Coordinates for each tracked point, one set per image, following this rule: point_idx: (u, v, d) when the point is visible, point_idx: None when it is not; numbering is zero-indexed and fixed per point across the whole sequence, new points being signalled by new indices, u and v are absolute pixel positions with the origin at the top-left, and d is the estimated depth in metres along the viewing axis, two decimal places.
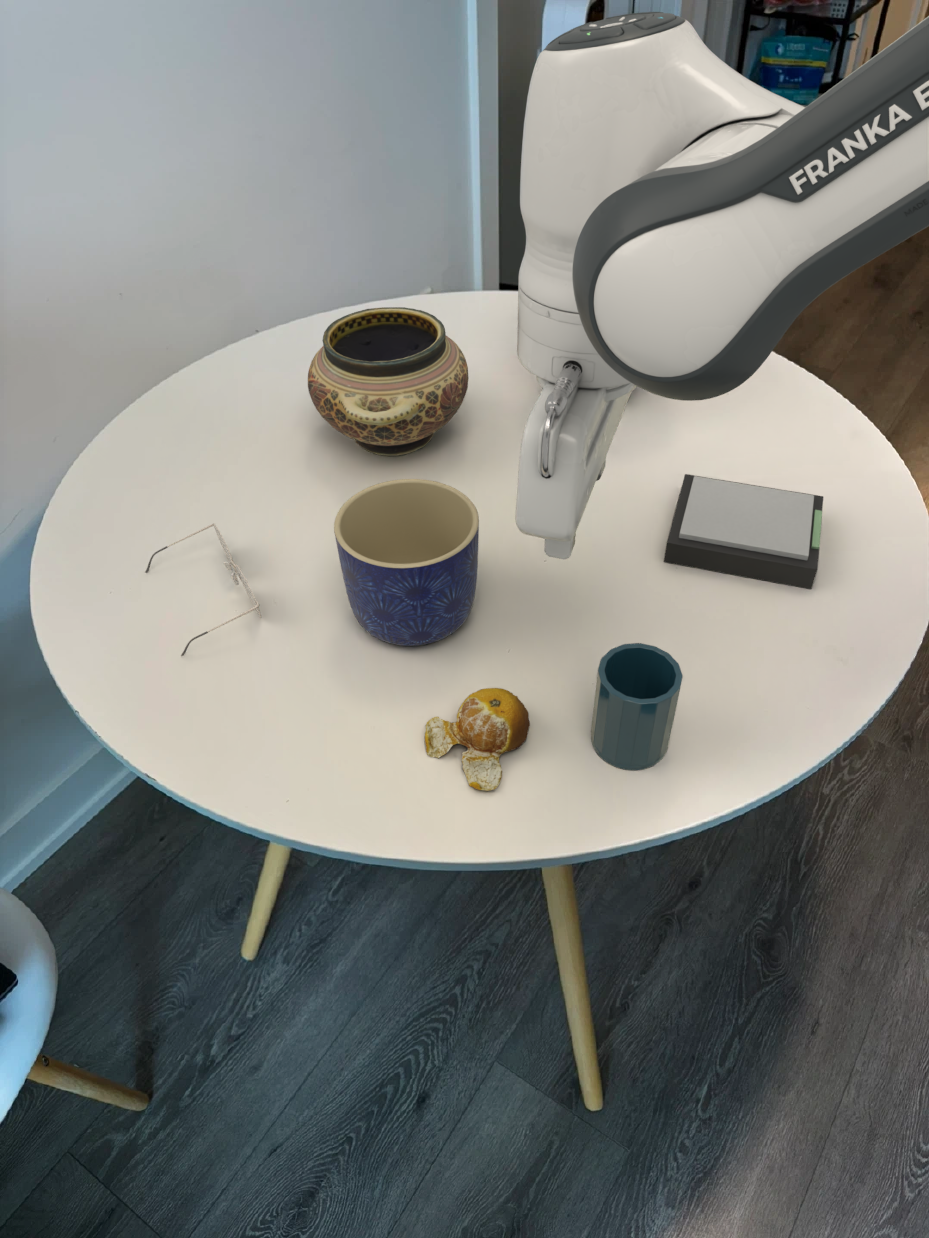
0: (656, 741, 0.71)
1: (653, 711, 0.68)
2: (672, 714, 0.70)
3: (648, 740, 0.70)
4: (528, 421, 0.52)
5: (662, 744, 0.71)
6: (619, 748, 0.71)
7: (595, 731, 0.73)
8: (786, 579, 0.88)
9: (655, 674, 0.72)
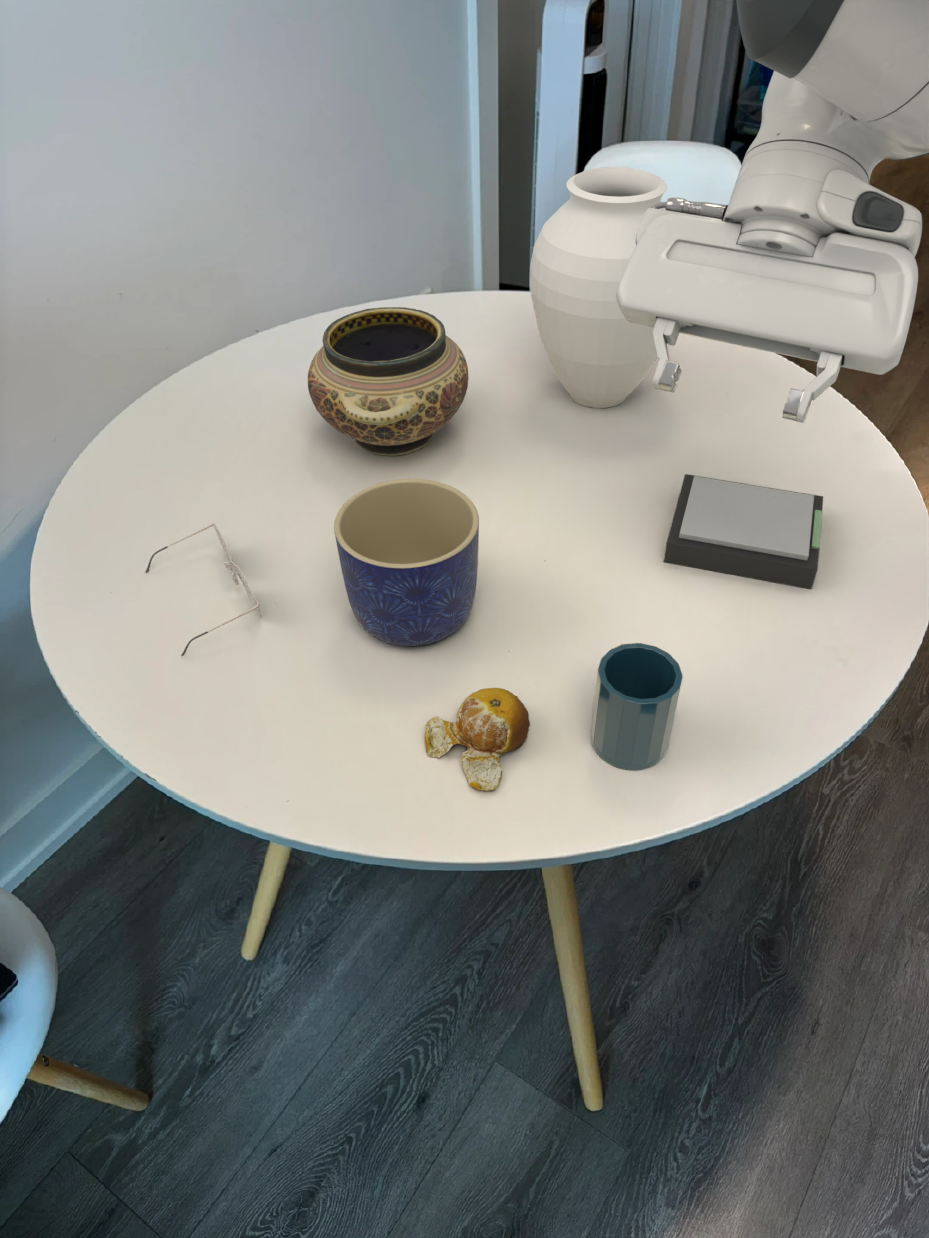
0: (656, 741, 0.71)
1: (653, 711, 0.68)
2: (672, 714, 0.70)
3: (648, 740, 0.70)
4: None
5: (662, 744, 0.71)
6: (619, 748, 0.71)
7: (595, 731, 0.73)
8: (786, 579, 0.88)
9: (655, 674, 0.72)
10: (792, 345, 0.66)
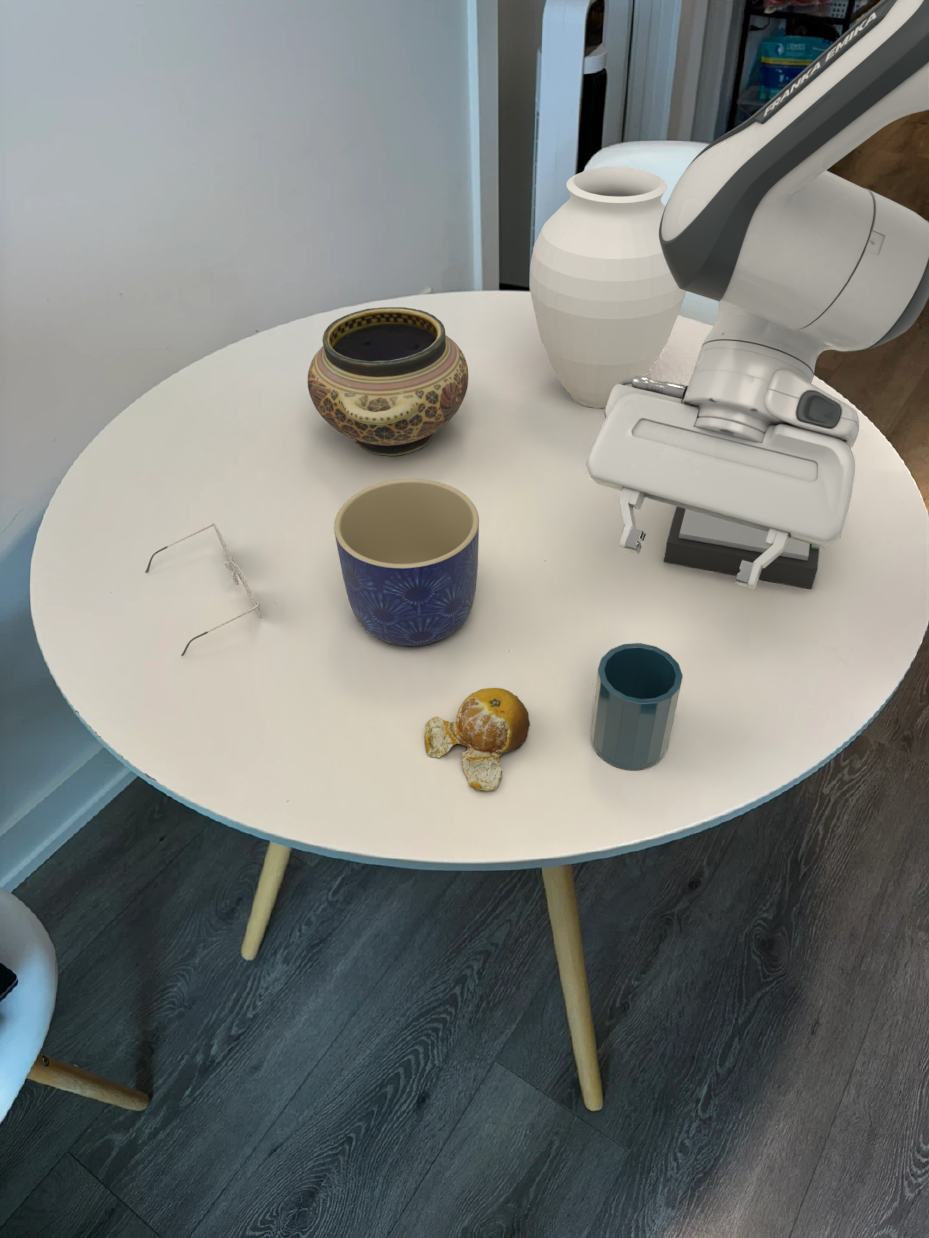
0: (656, 741, 0.71)
1: (653, 711, 0.68)
2: (672, 714, 0.70)
3: (648, 740, 0.70)
4: None
5: (662, 744, 0.71)
6: (619, 748, 0.71)
7: (595, 731, 0.73)
8: (786, 579, 0.88)
9: (655, 674, 0.72)
10: None
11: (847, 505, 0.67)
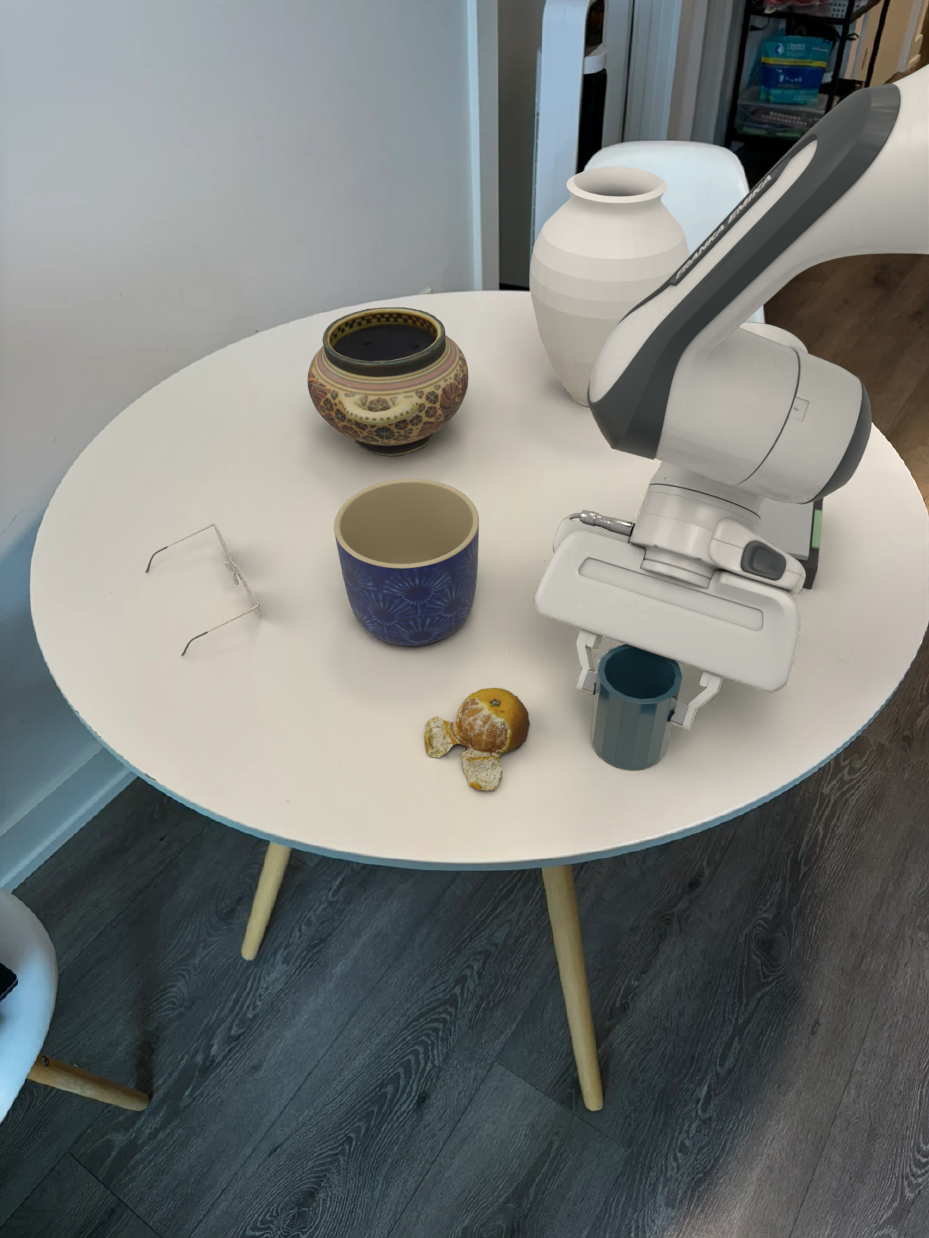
0: (656, 741, 0.71)
1: (653, 711, 0.68)
2: (672, 714, 0.70)
3: (648, 740, 0.70)
4: None
5: (662, 744, 0.71)
6: (619, 748, 0.71)
7: (595, 731, 0.73)
8: None
9: (655, 674, 0.72)
10: None
11: (792, 657, 0.66)
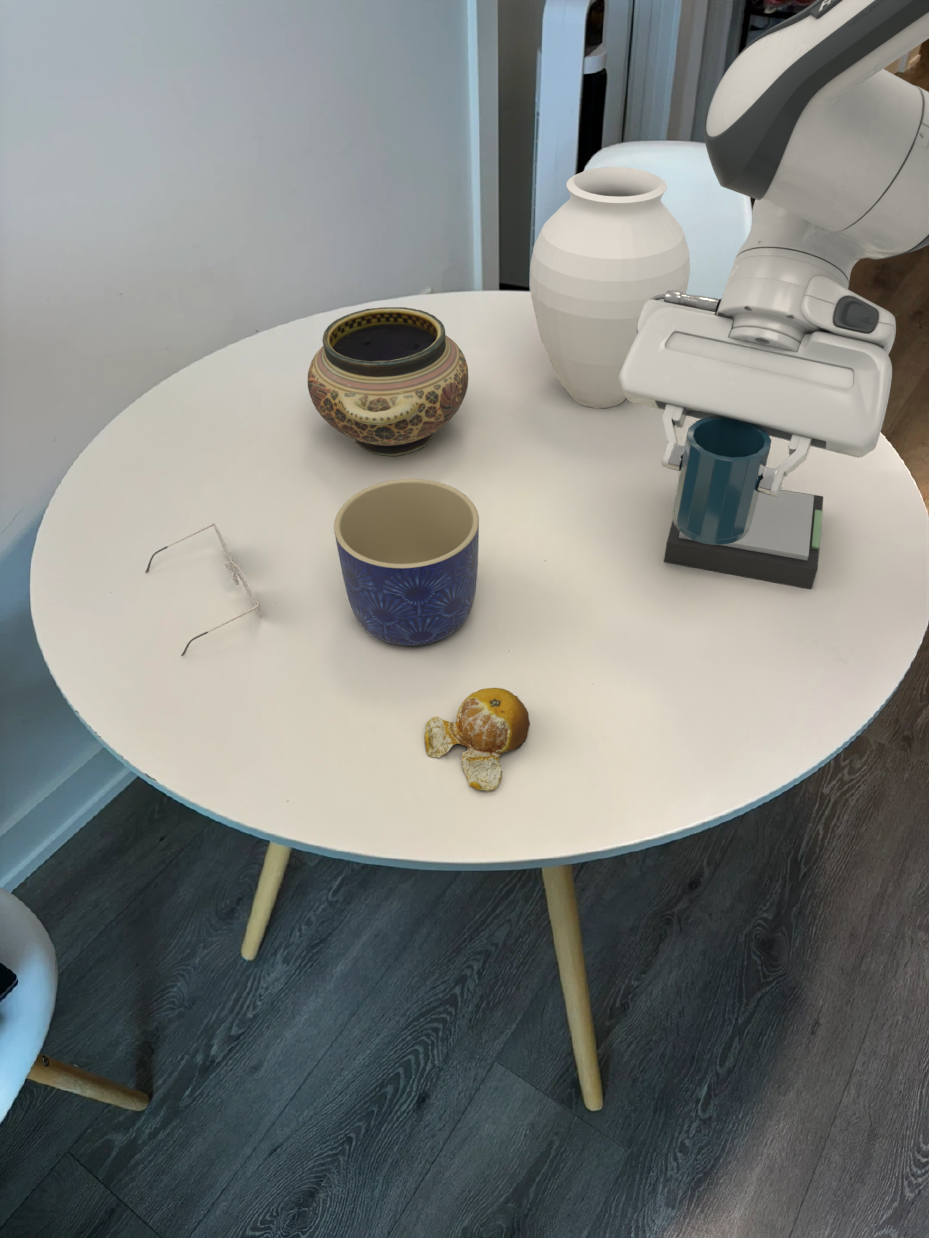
0: (743, 510, 0.71)
1: (744, 471, 0.69)
2: None
3: (735, 507, 0.71)
4: None
5: (748, 515, 0.72)
6: (706, 519, 0.72)
7: (680, 506, 0.73)
8: (786, 579, 0.88)
9: (740, 449, 0.73)
10: None
11: (884, 411, 0.67)
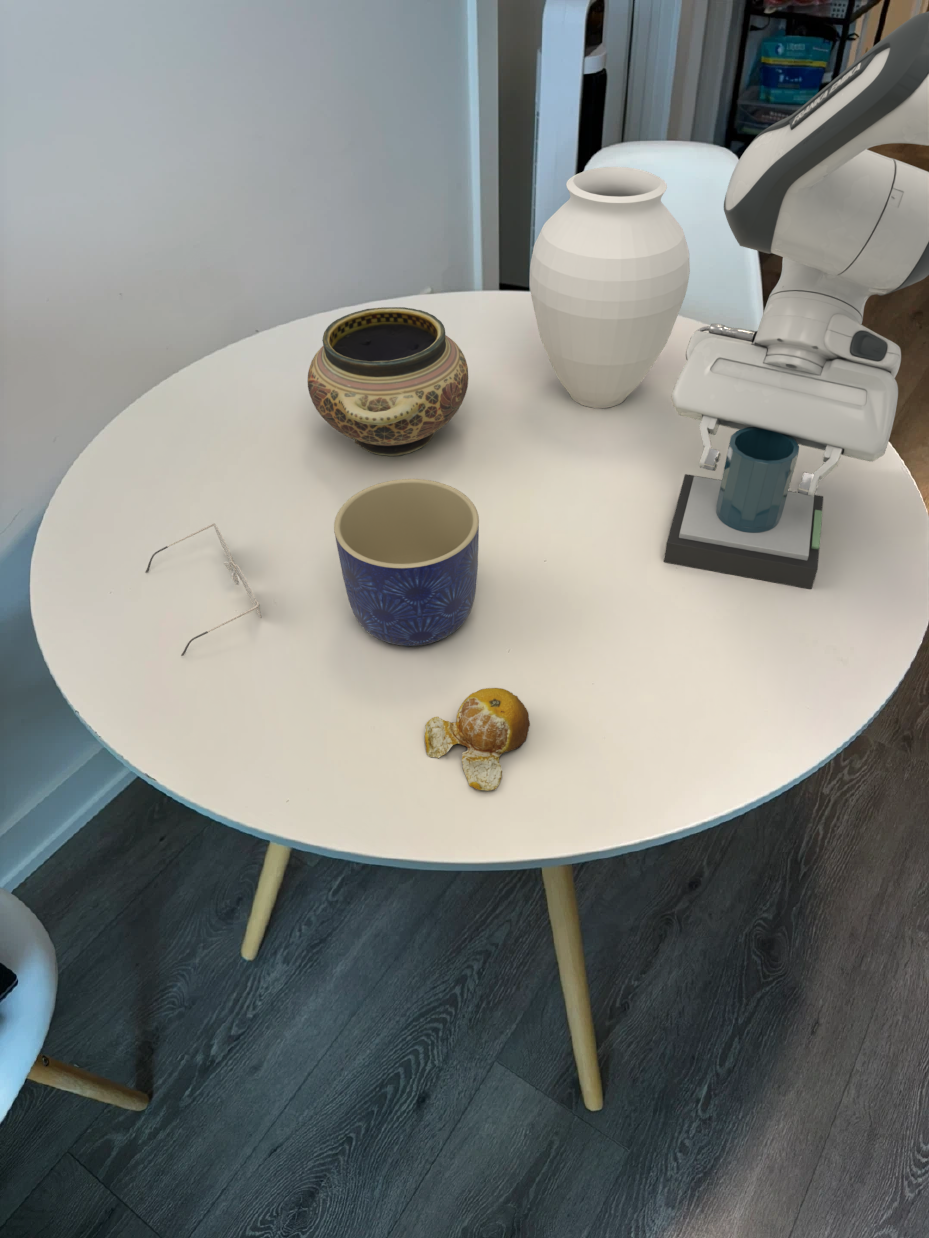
0: (775, 504, 0.87)
1: (777, 471, 0.84)
2: (789, 479, 0.86)
3: (769, 501, 0.86)
4: None
5: (779, 508, 0.88)
6: (745, 511, 0.87)
7: (723, 501, 0.89)
8: (786, 579, 0.88)
9: (772, 454, 0.89)
10: None
11: (891, 424, 0.82)
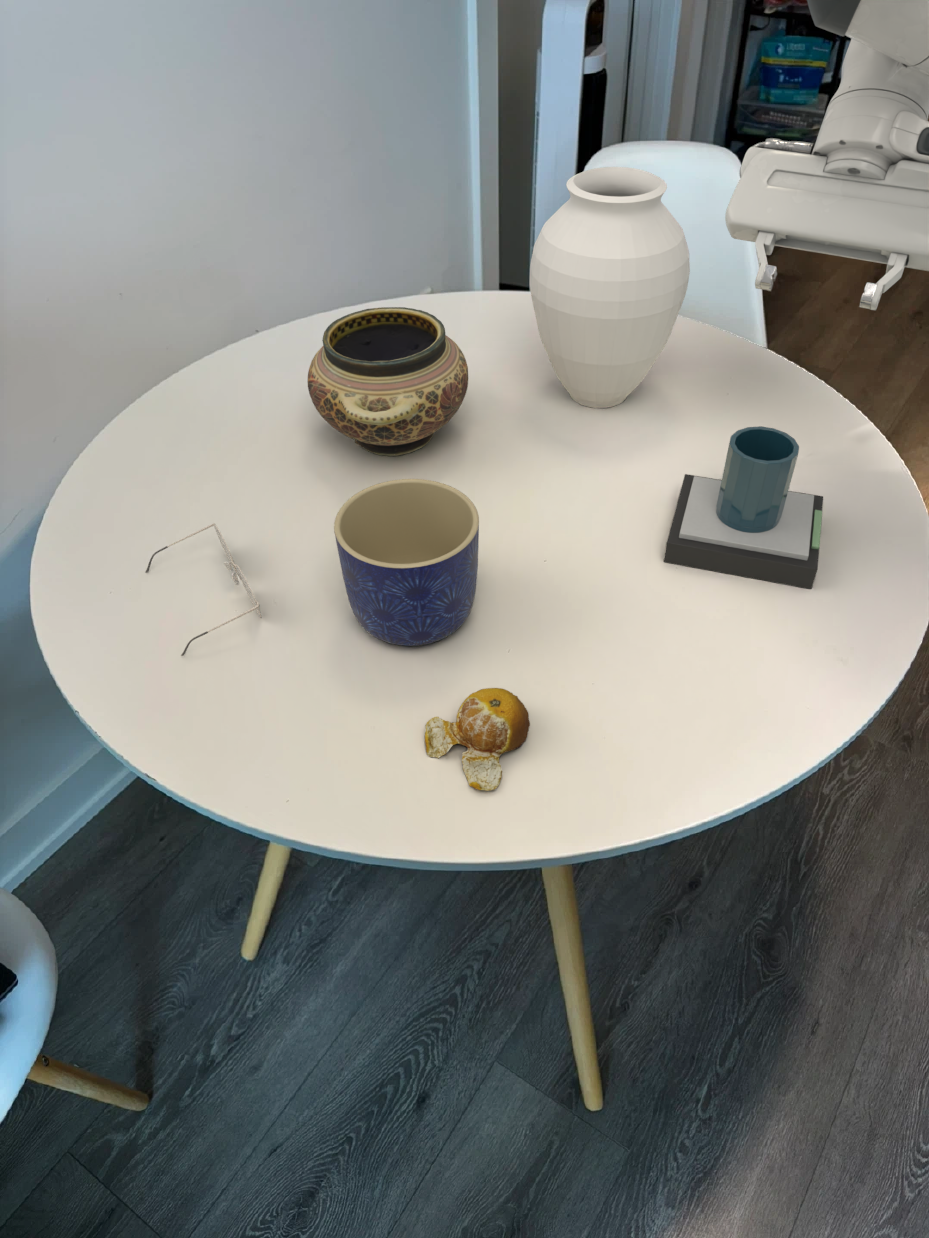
0: (775, 504, 0.87)
1: (777, 471, 0.84)
2: (789, 479, 0.86)
3: (769, 501, 0.86)
4: None
5: (779, 508, 0.88)
6: (745, 511, 0.87)
7: (723, 501, 0.89)
8: (786, 579, 0.88)
9: (772, 454, 0.89)
10: (866, 251, 0.84)
11: None
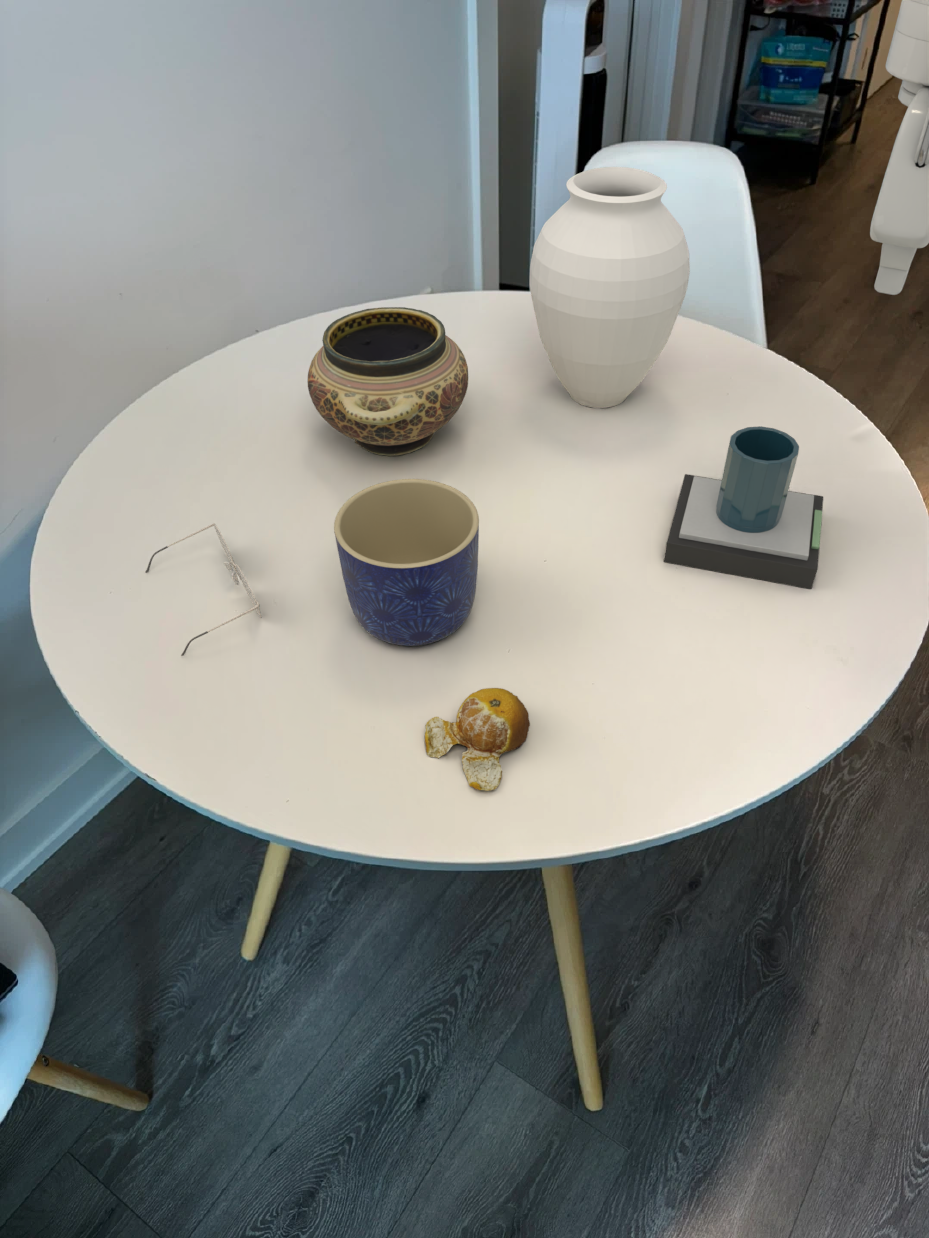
0: (775, 504, 0.87)
1: (777, 471, 0.84)
2: (789, 479, 0.86)
3: (769, 501, 0.86)
4: (909, 109, 0.53)
5: (779, 508, 0.88)
6: (745, 511, 0.87)
7: (723, 501, 0.89)
8: (786, 579, 0.88)
9: (772, 454, 0.89)
10: None
11: None
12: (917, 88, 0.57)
